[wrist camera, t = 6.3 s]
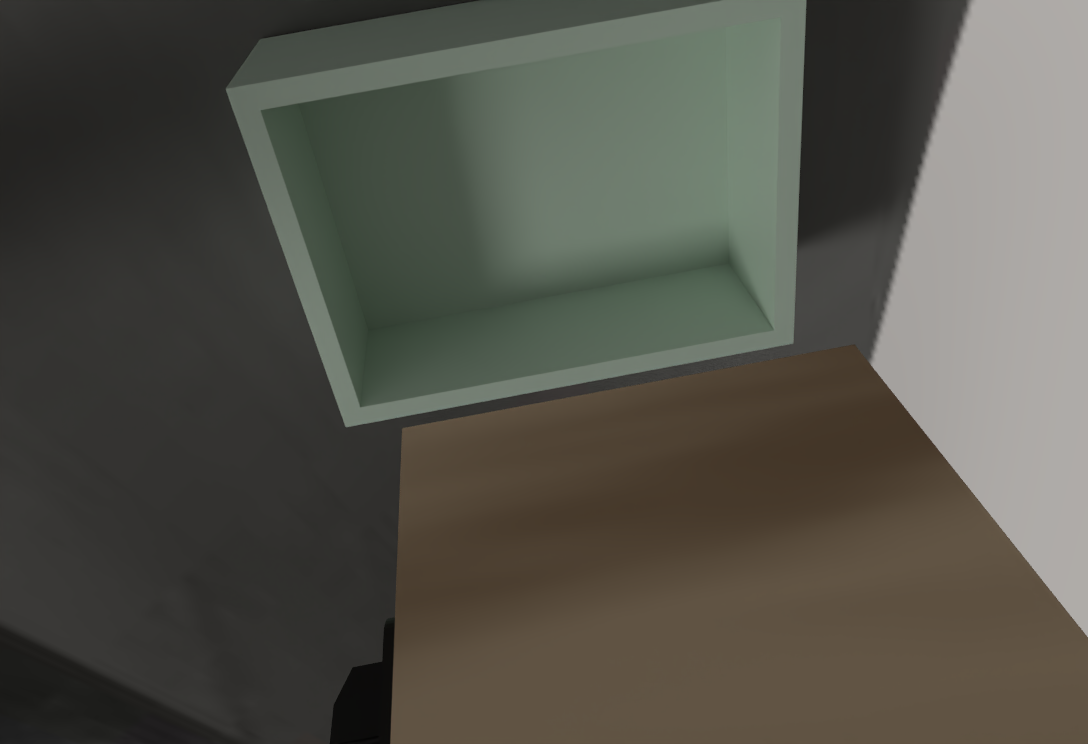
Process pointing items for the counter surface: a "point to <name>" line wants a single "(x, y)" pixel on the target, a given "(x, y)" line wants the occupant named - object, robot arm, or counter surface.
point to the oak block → (717, 575)
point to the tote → (531, 191)
